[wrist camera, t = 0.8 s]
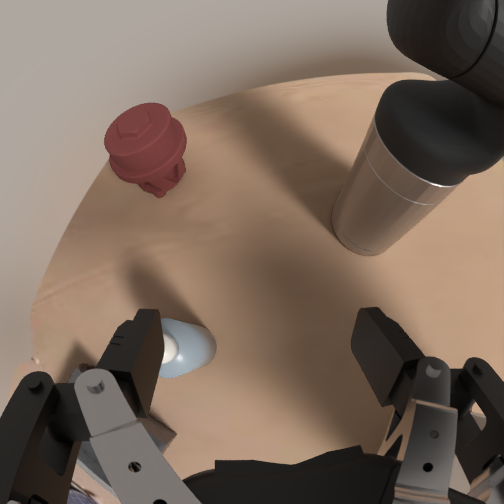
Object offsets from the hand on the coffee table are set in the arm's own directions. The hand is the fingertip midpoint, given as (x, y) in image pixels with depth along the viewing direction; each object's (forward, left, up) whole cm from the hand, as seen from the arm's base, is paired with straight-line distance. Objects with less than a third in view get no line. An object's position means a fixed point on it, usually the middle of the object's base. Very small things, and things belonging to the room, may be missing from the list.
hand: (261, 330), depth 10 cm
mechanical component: (-11, -23, -21) cm, 33 cm away
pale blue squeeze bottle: (+5, -6, -21) cm, 22 cm away
